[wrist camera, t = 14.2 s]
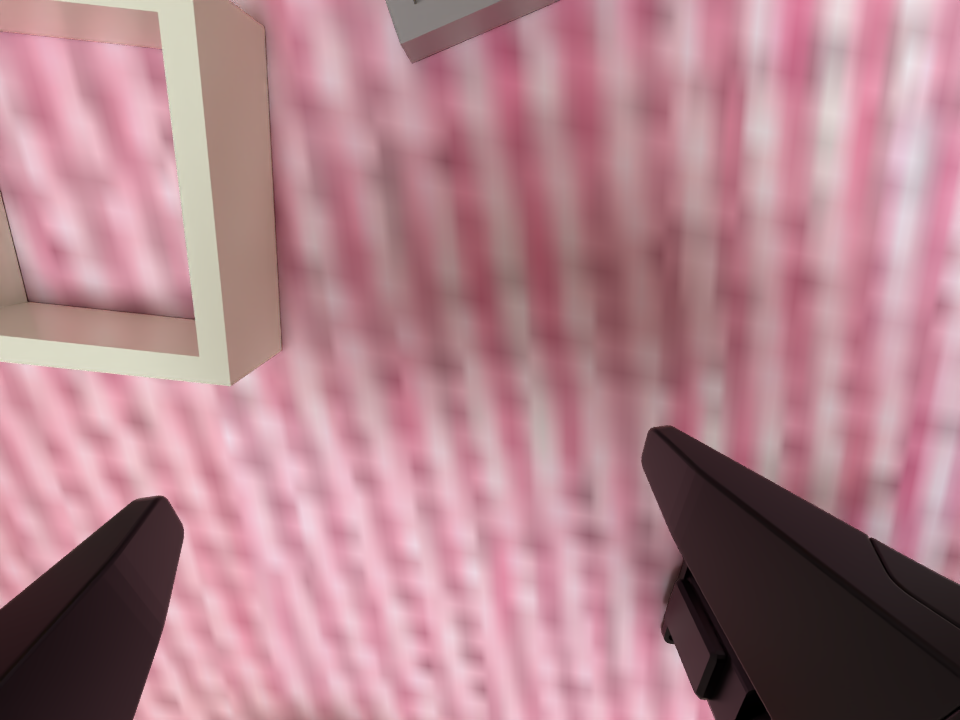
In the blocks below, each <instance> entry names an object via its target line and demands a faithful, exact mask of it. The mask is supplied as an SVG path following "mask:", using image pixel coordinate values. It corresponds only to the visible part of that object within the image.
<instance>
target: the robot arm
mask: <svg viewBox="0 0 960 720" xmlns="http://www.w3.org/2000/svg"><path fill="white" fill-rule="evenodd" d="M641 461H642V466H643V469H644V472H645V474H646V477H647V479H648V481H649V484H650V486H651V489H652V491H653V493H654V496H655V498H656V500H657V503H658V505H659V508H660V510H661V512H662V515H663V517H664V519H665V522H666V524H667V526H668V529H669V531H670V533H671V535H672V537H673V539H674V541H675V543H676V545H677V547H678V549H679V551H680V553H681V554H682V556H683V558H684V563H683V566H682V569H681V572H680V575H679V578H678V580H677V581H676V583H675V585H674V588H673V591H672V594H671V597H670V600H669V603H668V606H667V609H666V612H665V615H664V619H665V620H664V624H663V627H662V630H661V632H662V635H663V637H664V640H665V641H666V642H667V643H670V644H675V646H676V649H677V651H678V653H679V656H680V658H681V661H682V663H683V666H684V668H685V671H686V673H687V676H688V678H689V681H690V683H691V685H692V688H693V690H694V693H695V694H696V695H697V696H698V698H699V699H703V700H707V701H708V704H709V706H710V709H711V711H712V713H713V716H714V718H715V720H960V584H958V583H956V582H954V581H952V580H950V579H948V578H946V577H944V576H942V575H940V574H938V573H936V572H934V571H933V570H931V569H929V568H927V567H925V566H923V565H921V564H920V563H918V562H916V561H914V560H912V559H910V558H908V557H907V556H905V555H903V554H901V553H899V552H897V551H896V550H894V549H892V548H890V547H888V546H887V545H885V544H883V543H881V542H879V541H878V540H876V539H874V538H869V537H868V536H867V535H866V534H865V533H863V532H861V531H860V530H858V529H856V528H854V527H852V526H851V525H849V524H847V523H845V522H843V521H842V520H840V519H838V518H836V517H834V516H833V515H831V514H829V513H827V512H825V511H824V510H822V509H820V508H818V507H816V506H815V505H813V504H811V503H809V502H807V501H806V500H804V499H802V498H800V497H799V496H797V495H795V494H793V493H791V492H790V491H788V490H786V489H784V488H782V487H781V486H779V485H777V484H775V483H773V482H772V481H770V480H768V479H766V478H764V477H763V476H761V475H759V474H757V473H755V472H754V471H752V470H750V469H748V468H747V467H745V466H743V465H741V464H739V463H738V462H736V461H734V460H732V459H730V458H729V457H727V456H725V455H723V454H721V453H720V452H718V451H716V450H714V449H712V448H711V447H709V446H707V445H705V444H703V443H702V442H700V441H698V440H696V439H694V438H693V437H691V436H689V435H687V434H686V433H684V432H682V431H680V430H678V429H677V428H675V427H673V426H668V425H667V426H659V427H653V428H651V429H650V430H649V431H648V434H647V438H646V441H645V445H644V449H643V453H642V460H641ZM183 539H184V529H183V525H182V523H181V521H180V519H179V518H178V516H177V514H176V513H175V511H174V509H173V507H172V506H171V504H170V502H169V501H168V499H167V498H165V497H164V496H152V497H145V498H139V499H136V500H134V501H132V502H131V503H130V504H128V505H127V506H126V507H125V508H124V509H122V510H121V511H120V512H119V513H117V514H116V515H115V516H114V517H113V518H111V519H110V520H109V521H108V522H106V523H105V524H104V525H103V526H102V527H100V528H99V529H98V530H97V531H95V532H94V533H93V534H92V535H91V536H89V537H88V538H87V539H86V540H84V541H83V542H82V543H81V544H80V545H78V546H77V547H76V548H75V549H73V550H72V551H71V552H70V553H69V554H67V555H66V556H65V557H64V558H62V559H61V560H60V561H59V562H58V563H56V564H55V565H54V566H53V567H51V568H50V569H49V570H48V571H47V572H45V573H44V574H43V575H42V576H40V577H39V578H38V579H37V580H36V581H34V582H33V583H32V584H31V585H29V586H28V587H27V588H26V589H25V590H23V591H22V592H21V593H20V594H18V595H17V596H16V597H15V598H14V599H12V600H11V601H10V602H9V603H7V604H6V605H5V606H4V607H3V608H1V609H0V720H133V718H134V715H135V712H136V709H137V707H138V704H139V701H140V698H141V695H142V692H143V689H144V686H145V683H146V680H147V677H148V674H149V671H150V668H151V665H152V662H153V659H154V656H155V653H156V650H157V647H158V644H159V641H160V637H161V634H162V631H163V628H164V624H165V620H166V616H167V612H168V607H169V603H170V598H171V594H172V589H173V584H174V580H175V575H176V571H177V566H178V562H179V557H180V553H181V548H182V544H183Z"/></svg>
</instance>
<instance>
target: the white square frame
mask: <svg viewBox="0 0 960 720" xmlns="http://www.w3.org/2000/svg"><path fill="white" fill-rule="evenodd" d="M0 31H2V32H12V33H21V34H30V35H39V36H48V37H57V38H66V39H76V40H85V41H94V42H103V43H112V44H121V45H130V46H140V47H149V48H158V49H162V51H163V59H164V68H165V76H166V84H167V92H168V101H169V109H170V117H171V125H172V134H173V142H174V150H175V159H176V167H177V175H178V183H179V192H180V200H181V208H182V216H183V225H184V233H185V241H186V249H187V258H188V266H189V274H190V282H191V291H192V299H193V307H194V316H195V320H193V319H184V318H174V317H165V316H156V315H146V314H137V313H128V312H118V311H109V310H100V309H90V308H81V307H72V306H62V305H53V304H44V303H34V302H28V301H27V297H26V293H25V289H24V285H23V281H22V277H21V273H20V269H19V265H18V261H17V257H16V253H15V249H14V245H13V241H12V237H11V233H10V229H9V225H8V221H7V217H6V213H5V209H4V205H3V201H2V197H1V193H0V362H9V363H18V364H28V365H37V366H46V367H56V368H65V369H74V370H84V371H93V372H103V373H112V374H121V375H131V376H140V377H149V378H159V379H168V380H178V381H187V382H196V383H206V384H215V385H224V386H232V385H233V384H234V383H236V382H237V381H239V380H240V379H242V378H243V377H245V376H246V375H247V374H249V373H250V372H252V371H253V370H255V369H256V368H257V367H259V366H260V365H262V364H263V363H265V362H266V361H268V360H269V359H270V358H272V357H273V356H275V355H276V354H278V353H279V352H280V351H282V346H281V327H280V308H279V290H278V271H277V252H276V234H275V215H274V196H273V177H272V159H271V140H270V121H269V103H268V84H267V65H266V47H265V28H264V26H262V25H261V24H260V23H258V22H257V21H256V20H255V19H253V18H252V17H251V16H249V15H248V14H247V13H245V12H244V11H243V10H241V9H240V8H239V7H237V6H236V5H235V4H233V3H232V2H231V1H229V0H0Z"/></svg>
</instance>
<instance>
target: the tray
mask: <svg viewBox="0 0 960 720" xmlns="http://www.w3.org/2000/svg"><path fill="white" fill-rule="evenodd" d="M385 1H386V4H387V6H388V9H389V12H390V15H391V18H392V21H393V24H394V27H395V30H396V33H397V35H398V38H399V41H400V44H401V46H402V48H403V49H404V51H405V53H406V54H407V56H408V58H409V59H410V61H411V63H414V62H416V61H419V60H421V59H423V58H426V57H428V56H430V55H433V54H435V53H437V52H440V51H442V50H444V49H447V48H449V47H451V46H454V45H456V44H458V43H461V42H463V41H465V40H468V39H470V38H473V37H475V36H477V35H480V34H482V33H484V32H487V31H489V30H491V29H494V28H496V27H498V26H501V25H503V24H505V23H508V22H510V21H512V20H515V19H517V18H520V17H522V16H524V15H527V14H529V13H531V12H534V11H536V10H538V9H541V8H543V7H545V6H548V5H550V4H552V3H555V2H557V1H559V0H385Z"/></svg>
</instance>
